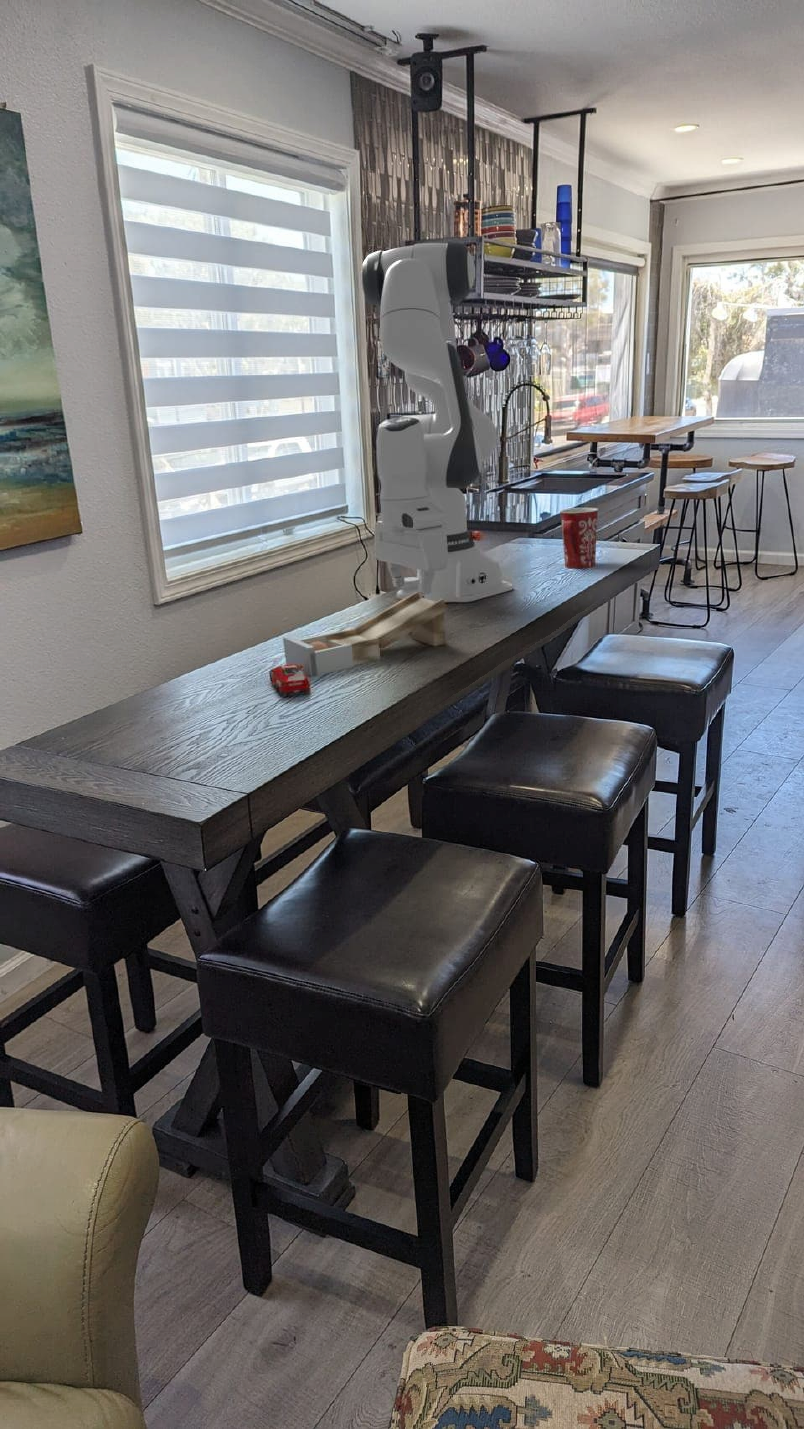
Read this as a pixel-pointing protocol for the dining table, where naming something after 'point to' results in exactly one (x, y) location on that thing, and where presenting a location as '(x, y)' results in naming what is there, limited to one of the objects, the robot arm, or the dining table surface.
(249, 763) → the dining table surface
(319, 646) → the ball
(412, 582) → the supplement bottle
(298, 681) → the race car
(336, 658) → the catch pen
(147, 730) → the dining table surface
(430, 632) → the ramp
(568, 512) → the mug
